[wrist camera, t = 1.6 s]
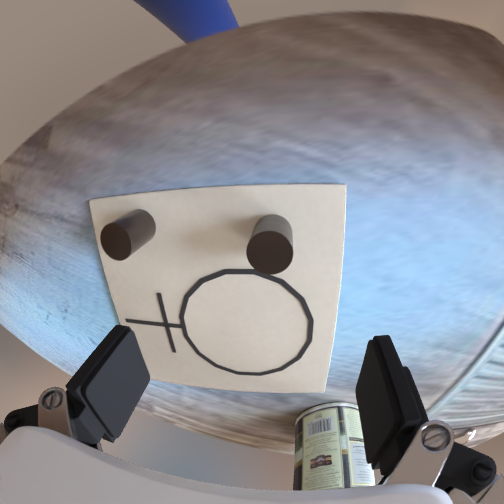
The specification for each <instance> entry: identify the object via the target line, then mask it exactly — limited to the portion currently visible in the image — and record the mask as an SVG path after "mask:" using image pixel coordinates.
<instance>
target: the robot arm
mask: <svg viewBox="0 0 504 504" xmlns="http://www.w3.org/2000/svg"><path fill="white" fill-rule="evenodd" d="M149 381H150V374H149V371H148V369H147V366H146V364H145V361H144V358H143V356H142V353H141V350H140V347H139V344H138V341H137V339H136V336H135V333H134V331H133V330H131V328H130V327H129V326H124V325H116V326H115V327H114V328H113V329H112V330H111V331H110V332H109V334H108V335H107V336H106V337H105V338H104V339H103V341H102V342H101V343H100V344H99V345H98V347H97V348H96V349H95V350H94V351H93V352H92V354H91V355H90V356H89V357H88V359H87V360H86V361H85V362H84V363H83V365H82V366H81V367H80V368H79V370H78V371H77V372H76V373H75V374H74V376H73V377H72V378H71V380H70V381H69V382H68V383H67V385H66V388H67V389H68V390H67V391H66V392H65V391H64V390H63V389H62V388H59V387H52V388H49V389H47V390H45V391H44V392H43V393H42V394H41V396H40V398H39V401H38V404H37V405H33V406H30V407H25V408H21V409H18V410H14V411H12V412H10V413H9V414H8V415H7V416H6V418H5V420H4V424H3V423H0V504H504V476H503V475H502V474H500V475H499V476H498V475H497V474H496V464H495V462H494V460H493V459H492V458H490V457H489V456H486V455H484V454H482V453H480V452H477V451H475V450H473V449H471V448H468V447H466V446H464V445H462V444H460V443H457V442H455V441H454V439H455V437H454V432H453V430H452V428H451V427H450V426H449V425H448V424H447V423H445V422H443V421H439V420H432V421H429V420H428V417H427V414H426V411H425V409H424V406H423V403H422V400H421V398H420V395H419V393H418V390H417V387H416V385H415V382H414V380H413V377H412V375H411V373H410V370H409V369H408V367H406V366H405V367H403V366H402V364H401V361H400V359H399V357H398V354H397V352H396V349H395V347H394V345H393V343H392V340H391V338H390V336H389V335H382V336H374V338H373V340H369V342H368V345H367V349H366V353H365V357H364V361H363V365H362V368H361V372H360V375H359V379H358V382H357V385H356V399H357V404H358V410H359V416H360V422H361V428H362V434H363V441H364V448H365V455H366V462H367V463H368V464H371V467H372V470H374V469H380V472H381V475H383V476H382V478H381V479H380V481H379V482H378V483H377V484H376V485H373V486H364V487H354V488H344V489H331V490H304V491H285V490H262V489H249V488H240V487H232V486H224V485H218V484H211V483H206V482H201V481H196V480H191V479H186V478H182V477H178V476H173V475H170V474H165V473H162V472H159V471H155V470H152V469H148V468H145V467H142V466H139V465H136V464H133V463H130V462H127V461H125V460H122V459H119V458H116V457H114V456H111V455H109V454H106V453H104V452H103V451H102V447H101V444H100V440H101V438H103V439H105V440H107V441H110V442H112V443H113V442H114V441H115V439H116V438H118V437H119V436H120V435H121V433H122V431H123V429H124V427H125V425H126V423H127V422H128V420H129V418H130V416H131V414H132V412H133V411H134V409H135V407H136V405H137V403H138V401H139V400H140V398H141V396H142V394H143V392H144V390H145V389H146V387H147V385H148V383H149Z"/></svg>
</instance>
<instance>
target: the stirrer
mask: <svg viewBox="0 0 504 504" xmlns="http://www.w3.org/2000/svg"><path fill="white" fill-rule="evenodd" d="M474 432H475V428H473V429H471V430H470V431H469V433H468V434H466V435H464V436H462V437H459V438H455V439H454V441H455V442H457V443H460V444H465V443H466V442H468V441H469V440H470V439H471V438H472V436H473V435H474Z"/></svg>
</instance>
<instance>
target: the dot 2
mask: <svg viewBox="0 0 504 504" xmlns="http://www.w3.org/2000/svg"><path fill="white" fill-rule="evenodd" d="M246 255H247V259H248V262H249V263H250V265H251V266H252V267H253V268H254V269H255V270H256V271H258V272H260V273H263V274H267V275H274V274H278V273H281V272H283V271H284V270H286V269H287V268H288V267H289V265H290V264H291V262H292V260H293V255H294V251H293V234H292V228H291V225H290V223H289V222H288V221H287V220H286V219H285V218H283V217H282V216H279V215H275V214H271V215H266V216H264V217H262V218H260V219H259V220H258V222H257V223H256V225H255V227H254V229H253V232H252V235H251V237H250V240H249V242H248V245H247V249H246Z"/></svg>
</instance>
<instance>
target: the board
mask: <svg viewBox="0 0 504 504" xmlns="http://www.w3.org/2000/svg"><path fill="white" fill-rule="evenodd" d="M89 203H90V209H91V215H92V220H93V225H94V230H95V235H96V240H97V244H98V248H99V253H100V257H101V261H102V265H103V269H104V272H105V276H106V280H107V283H108V287H109V290H110V293H111V297H112V300H113V303H114V306H115V309H116V312H117V315H118V318H119V321H120V324H121V325H124V326H129V327H130V328H131V330H133V331H134V333H135V336H136V339H137V341H138V344H139V347H140V350H141V353H142V356H143V358H144V361H145V364H146V366H147V369H148V371H149V374H150V379H152V380H157V381H163V382H169V383H175V384H181V385H188V386H195V387H203V388H212V389H222V390H233V391H247V392H268V393H320V392H324V391H325V387H326V381H327V376H328V371H329V365H330V359H331V353H332V347H333V341H334V334H335V327H336V320H337V312H338V304H339V295H340V286H341V275H342V264H343V251H344V235H345V214H346V185H345V184H322V183H295V184H252V185H230V186H212V187H198V188H185V189H173V190H163V191H153V192H144V193H135V194H127V195H119V196H111V197H104V198H97V199H92V200H89ZM136 209H142V210H145V211H147V212H148V213H150V214H151V216H152V217H153V219H154V221H155V224H156V232H155V235H154V237H153V238H152V239H151V240H150V241H149V242H147V243H146V244H145V245H143V246H142V247H141V248H140V249H138V250H137V251H136V252H134V253H133V254H132V255H131V256H129V257H128V258H127V259H125V260H123V261H116V260H113V259H112V258H110V257H109V256H108V255H107V254H106V253H105V252H104V250H103V248H102V246H101V241H100V234H101V231H102V229H103V227H104V226H105V225H107V224H108V223H110V222H112V221H114V220H116V219H118V218H120V217H122V216H124V215H126V214H128V213H130V212H132V211H134V210H136ZM271 214H275V215H279V216H282V217H283V218H285V219H286V220H287V221H288V222H289V223H290V225H291V228H292V234H293V251H294V255H293V260H292V262H291V264H290V265H289V267H288V268H287V269H286V270H284V271H283V272H281V273H278V274H274V275H267V274H263V273H260V272H258V271H256V270H255V269H254V268H253V267H252V266H251V265H250V263H249V262H248V259H247V255H246V249H247V245H248V242H249V240H250V237H251V235H252V232H253V229H254V227H255V225H256V223H257V222H258V220H259V219H260V218H262V217H264V216H266V215H271Z"/></svg>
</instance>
